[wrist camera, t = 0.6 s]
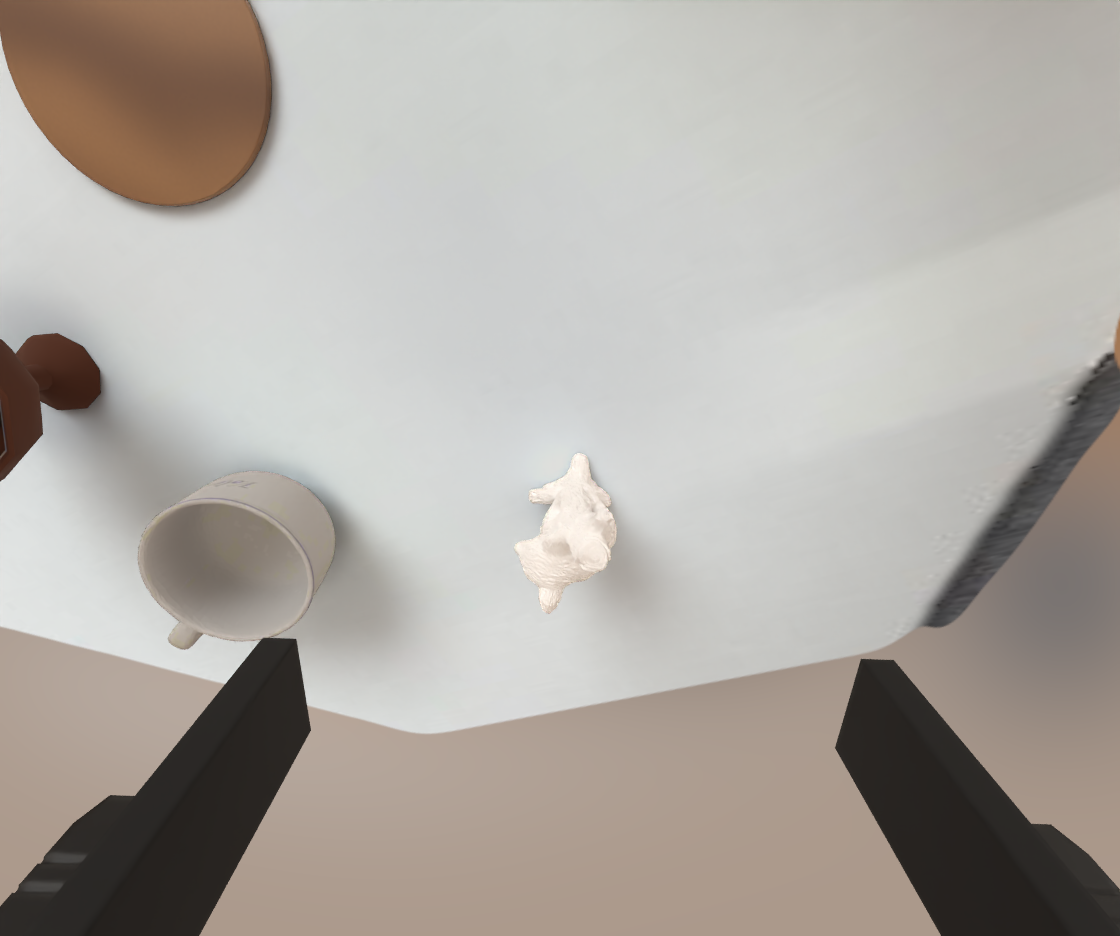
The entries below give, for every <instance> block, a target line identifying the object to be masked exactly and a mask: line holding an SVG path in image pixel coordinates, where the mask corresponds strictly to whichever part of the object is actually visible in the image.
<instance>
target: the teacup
mask: <svg viewBox="0 0 1120 936" xmlns="http://www.w3.org/2000/svg"><path fill="white" fill-rule="evenodd" d="M334 551H335V532H334V527H333V523H332V520H331V518H330V516H329V514H328V512H327V510H326V509H325V507H324V505H323V504H322V503H321V501H320V500H319V499H318V498H317V497H316V496H315V495H314V494H313V493H312V492H311V491H310V490H308V489H307V488H306V487H304V486H303V485H301V484H300V483H298V482H296V481H294V480H292V479H290V478H288V477H285V476H282V475H279V474H275V473H270V472H263V471H245V472H239V473H233V474H230V475H227V476H224V477H221V478H219V479H216V480H214V481H213V482H211V483H209V484H207V485H205V486H203V487H202V488H200V489H198V490H197V491H195V492H194V493H192V494H191V495H189V496H187V497H186V498H184V499H183V500H182V501H180V502H179V503H177V504H174V505H172V506H170V507H168V508H166V509H165V510H163V511H162V512H161V513H159V514H158V515H156V516H155V518H154V519H153V520H152V521H151V522H150V523H149V524H148V526H147V527H146V528H145V531H144V533H143V534H142V539H141V541H140V545H139V547H138V565H139V569H140V573H141V576H142V579H143V581H144V583H145V586H146V588H147V589H148V590H149V592H150V593H151V595H152V597H153V598H154V599H155V600H156V601H157V603H158V604H159V605H160V606H161V607H162V608H163V609H165V610H166V611H167V612H168V613H169V614H171V615H172V616H173V617H174V618H176V619H177V620H178V621H179V623H178V624H177V625H176V626H175V628H174V629H173V631H172V632H171V633H170V635H169V637H168V641H169V643H170V644H172V645H173V646H175V647H177V648H180V649H184V650H185V649H189V648H190V647H191V646H192V645H193V644H194V643H195V642H196V641H197V640H198V639H199V638H200V637H201V636H202V634H206V635H209V636H212V637H217V638H220V639H225V640H231V641H256V640H261V639H262V638H270V637H273V636H276V635H278V634H280V633H282V632H284V631H286V630H287V629H289V628H291V627H292V626H293V625H294V624H296V623H297V622H298V621H299V620H300V619H301V618H302V617H303V615H304V614H305V613H306V611H307V609H308V608H309V605H310V603H311V601H312V598H313V596H314V595H315V593H316V591H317V590H318V588H319V586H320V584H321V583H322V581H323V579H324V577H325V575H326V573H327V571H328V569H329V567H330V565H331V562H332V559H333V556H334Z"/></svg>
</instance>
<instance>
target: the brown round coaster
mask: <svg viewBox="0 0 1120 936" xmlns="http://www.w3.org/2000/svg"><path fill="white" fill-rule="evenodd" d="M0 35H1V41H2V47H3V51H4V54H5V58H6V61H7V65H8V68H9V71H10V74H11V76H12V79H13V81H14V84H15V86H16V89H17V91H18V93H19V95H20V97H21V99H22V101H23V103H24V105H25V107H26V108H27V110H28V112H29V113H30V115H31V116H32V118H33V120H34V121H35V123H36V124H37V126H38V127H39V128H40V130H41V131H42V132H43V134H44V135H45V136H46V138H47V139H48V140H49V141H50V143H51V144H52V145H53V146H54V147H55V148H56V149H57V150H58V151H59V152H60V153H61V155H62V156H63V157H65V158H66V159H67V160H68V161H69V162H70V163H71V164H72V165H73V166H75V167H76V168H77V169H78V170H79V171H81V172H82V173H83V174H85V175H86V176H87V177H89V178H90V179H92V180H93V181H95V182H96V183H98V184H100V185H101V186H103V187H105V188H107V189H108V190H110V191H112V192H115V193H117V194H119V195H121V196H124V197H126V198H130V199H133V200H136V201H139V202H143V203H149V204H155V205H161V206H184V205H192V204H196V203H200V202H203V201H207V200H209V199H211V198H214V197H216V196H218V195H220V194H222V193H223V192H225V191H226V190H227V189H229V188H230V187H232V186H233V185H234V184H235V183H236V182H237V181H238V180H239V179H240V178H241V177H242V176H243V175H244V174H245V173H246V171H247V170H248V169H249V167H250V166H251V165H252V163H253V162H254V160H255V158H256V156H257V154H258V152H259V151H260V149H261V146H262V143H263V140H264V138H265V135H266V131H267V127H268V122H269V118H270V108H271V75H270V68H269V60H268V56H267V52H266V47H265V43H264V39H263V36H262V33H261V30H260V28H259V25H258V22H257V19H256V17H255V15H254V13H253V10H252V8H251V6H250V4H249V2H248V0H0Z"/></svg>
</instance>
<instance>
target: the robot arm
mask: <svg viewBox="0 0 1120 936" xmlns="http://www.w3.org/2000/svg"><path fill="white" fill-rule="evenodd" d="M310 731H311V728H310V722H309V716H308V710H307V703H306V697H305V690H304V684H303V678H302V672H301V666H300V660H299V653H298V647H297V641H296V639H284V638H262V639H261V641H260V642H259V643H258V644H257V646H256V647H255V648H254V649H253V651H252V652H251V653H250V654H249V656H248V657H247V658H246V659H245V661H244V662H243V663H242V664H241V665H240V667H239V668H238V669H237V670H236V672H235V673H234V674H233V675H232V677H231V678H230V679H229V680H228V682H227V683H226V684H225V685H224V687H223V688H222V689H221V690H220V691H219V693H218V694H217V695H216V696H215V698H214V699H213V700H212V702H211V703H210V704H209V705H208V706H207V708H206V709H205V710H204V711H203V713H202V714H201V715H200V716H199V717H198V719H197V720H196V721H195V722H194V724H193V725H192V726H191V727H190V729H189V730H188V731H187V732H186V734H185V735H184V736H183V737H182V738H181V740H180V741H179V742H178V743H177V745H176V746H175V747H174V748H173V750H172V751H171V752H170V753H169V755H168V756H167V757H166V758H165V760H164V761H163V762H162V763H161V765H160V766H159V767H158V768H157V769H156V771H155V772H154V773H153V775H152V776H151V777H150V778H149V780H148V781H147V782H146V783H145V784H144V786H143V787H142V788H141V789H140V790H139V792H138V793H137V794H136V795H135V796H116V795H110V796H108V797H107V798H106V799H105V800H103V801H102V802H101V803H99V804H98V805H97V806H95V807H94V808H93V809H91V810H90V811H89V812H87V813H86V814H85V815H84V816H82V817H81V818H80V819H78V820H77V821H76V822H74V823H73V824H72V826H71V827H70V828H69V829H68V830H67V831H66V832H65V833H64V834H63V836H62V837H61V838H60V839H59V840H58V841H57V843H56V844H55V845H54V846H53V847H52V848H51V849H50V851H49V852H48V853H47V854H46V855H45V856H44V860H43V861H42V863H41V864H37V865H36V866H35V867H34V869H33V870H32V871H31V872H30V873H29V874H28V875H27V877H26V878H25V879H24V880H23V881H22V882H21V883H20V884H19V888H18V890H17V891H16V892H15V893H12V894H11V895H10V896H9V897H8V898H7V899H6V901H5V902H4V903H3V904H2V905H1V906H0V936H199V935H200V933H201V931H202V930H203V928H204V926H205V924H206V922H207V920H208V918H209V917H210V915H211V913H212V911H213V909H214V908H215V906H216V904H217V902H218V900H219V898H220V896H221V895H222V893H223V891H224V889H225V887H226V885H227V884H228V882H229V880H230V878H231V876H232V874H233V873H234V871H235V869H236V867H237V865H238V863H239V861H240V860H241V858H242V856H243V854H244V852H245V850H246V849H247V847H248V845H249V843H250V841H251V839H252V838H253V836H254V834H255V832H256V830H257V828H258V826H259V824H260V823H261V821H262V819H263V817H264V816H265V814H266V812H267V810H268V808H269V806H270V805H271V803H272V801H273V799H274V797H275V795H276V793H277V792H278V790H279V788H280V786H281V784H282V782H283V781H284V779H285V777H286V775H287V773H288V771H289V769H290V768H291V765H292V764H293V762H294V760H295V759H296V757H297V755H298V753H299V751H300V749H301V747H302V745H303V744H304V742H305V740H306V738H307V736H308V734H309V733H310ZM835 749H836V750H837V752H838V754H839V756H840V757H841V759H842V761H843V763H844V764H845V766H846V768H847V770H848V771H849V773H850V775H851V777H852V779H853V780H854V782H855V784H856V786H857V788H858V789H859V791H860V793H861V795H862V796H863V798H864V800H865V802H866V803H867V805H868V807H869V809H870V810H871V812H872V814H873V816H874V817H875V819H876V821H877V823H878V825H879V826H880V828H881V830H882V832H883V834H884V835H885V837H886V838H887V841H888V842H889V844H890V846H891V848H892V849H893V851H894V853H895V855H896V857H897V858H898V860H899V862H900V863H901V865H902V867H903V869H904V871H905V872H906V874H907V876H908V878H909V880H910V881H911V883H912V885H913V887H914V888H915V890H916V892H917V894H918V895H919V897H920V899H921V901H922V903H923V904H924V906H925V908H926V910H927V911H928V913H929V915H930V917H931V919H932V920H933V922H934V924H935V925H936V927H937V929H938V931H939V933H940V934H941V936H1120V889H1119V888H1118V887H1117V886H1116V885H1115V883H1114V882H1113V881H1112V880H1111V879H1110V878H1109V877H1108V876H1107V875H1106V873H1105V872H1104V871H1103V870H1102V869H1101V868H1100V867H1099V866H1098V865H1097V863H1096V862H1095V861H1094V860H1093V859H1092V858H1091V857H1090V856H1089V855H1088V854H1087V853H1086V852H1085V851H1084V850H1082V849H1081V848H1080V847H1079V846H1077V845H1076V844H1075V843H1073V842H1072V841H1071V840H1070V839H1068V838H1067V837H1066V836H1065V835H1063V834H1062V833H1061V832H1060V831H1058V830H1057V829H1056V828H1054V827H1053V826H1052V825H1047V824H1031V823H1030V822H1029V821H1028V820H1027V818H1025V816H1024V815H1023V814H1022V813H1021V811H1020V810H1019V809H1018V808H1017V806H1016V805H1015V804H1014V803H1013V802H1012V801H1011V799H1010V798H1009V797H1008V796H1007V795H1006V793H1005V792H1004V791H1003V790H1002V789H1001V787H1000V786H999V785H998V784H997V783H996V781H995V780H994V779H993V778H992V777H991V775H990V774H989V773H988V772H987V771H986V770H985V768H984V767H983V766H982V765H981V764H980V762H979V761H978V760H977V759H976V758H975V757H974V755H973V754H972V753H971V752H970V751H969V749H968V748H967V747H966V746H965V745H964V743H963V742H962V741H961V740H960V739H959V737H958V736H957V735H956V734H955V733H954V731H953V730H952V729H951V728H950V727H949V725H948V724H947V723H946V722H945V721H944V720H943V718H942V717H941V716H940V715H939V714H938V712H937V711H936V710H935V709H934V708H933V707H932V705H931V704H930V703H929V702H928V700H927V699H926V698H925V697H924V696H923V695H922V693H921V692H920V691H919V690H918V689H917V687H916V686H915V685H914V684H913V683H912V681H911V680H910V679H909V678H908V677H907V675H906V674H905V673H904V672H903V671H902V670H901V668H900V667H899V666H898V665H897V664H896V662H895V661H894V660H872V659H861V661H860V664H859V668H858V672H857V675H856V678H855V682H854V685H853V689H852V692H851V695H850V699H849V702H848V706H847V709H846V712H845V716H844V719H843V723H842V726H841V730H840V733H839V736H838V740H837V743H836V747H835Z"/></svg>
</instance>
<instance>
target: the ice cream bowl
mask: <svg viewBox="0 0 1120 936" xmlns="http://www.w3.org/2000/svg"><path fill="white" fill-rule="evenodd" d="M100 393H101V390H100V373H99V368H98V367H97V366H96V364H95V363H94V361H93V360H92V359H91V357H90V356H89V354H88V353H87V352H86V350H85V349H84V347H83V346H81V345H79V344H77V343H75V342H73V341H71V340H69V339H68V338H66V337H64V336H62V335H60V334H58V333H55V334H43V335H33V336H31V337H30V338H28V339H27V340H26V341H25V343H24V344H23V345H22V346H21V348H20V349H19V350H18V351H17V353H16V354H15V353H14V352H13V350H12V349H11V348H10V347H9V346H8V345H7V344H6V343H5V342H4V341H3V340H1V339H0V481H1V480H3V479H5V477H6V476H7V475H8V474H9V473H10V472H11V470H12V469H13V468H14V467H15V466H16V465H17V463H18V462H19V461H20V460H21V459H22V458H23V457H24V455H25V454H26V453H27V452H28V451H29V450H30V448H31V447H32V446H33V445H34V444H35V443H36V441H37V440H38V439H39V438H40V437H41V436H42V434H43V428H42V414H41V404H40V401H41V402H43V403H45V404H47V405H49V406H51V407H53V408H55V409H57V410H71V409H84V408H88V407H89V406H90V405H91V403H92V402H93V401H94V400H95V399H96V398H97V397H98V395H99V394H100Z"/></svg>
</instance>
